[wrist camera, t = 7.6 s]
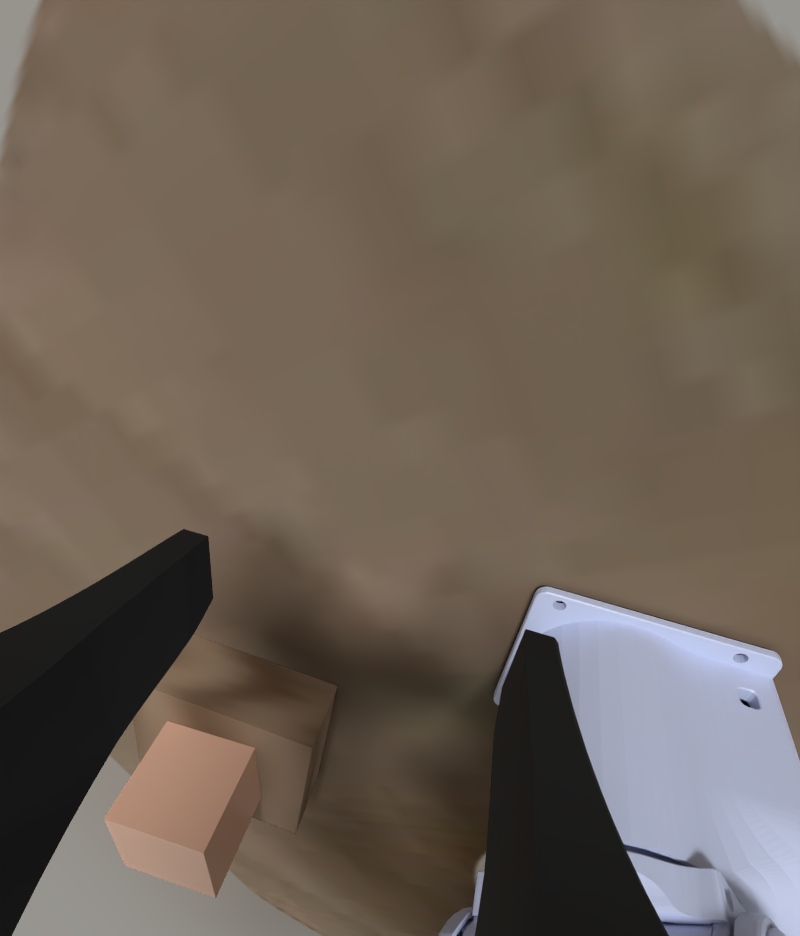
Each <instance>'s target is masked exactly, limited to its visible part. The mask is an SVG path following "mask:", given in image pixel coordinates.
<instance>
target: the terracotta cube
mask: <svg viewBox="0 0 800 936" xmlns="http://www.w3.org/2000/svg"><path fill="white" fill-rule="evenodd" d="M260 798H261V791H260V783H259V775H258V767H257V759H256V751H255V748H254V747H251V746H247V745H244V744H241V743H237V742H234V741H231V740H228V739H224V738H221V737H218V736H215V735H211V734H208V733H205V732H201V731H198V730H195V729H192V728H188V727H185V726H182V725H179V724H175V723H172V722H169V721H167V722H166V724H165V725H164V727H163V728H162V730H161V731H160V733H159V734H158V736H157V738H156V739H155V741H154V742H153V744H152V745H151V747H150V748H149V750H148V751H147V753H146V754H145V756H144V758H143V759H142V761H141V762H140V764H139V765H138V767H137V768H136V770H135V771H134V773H133V774H132V776H131V778H130V779H129V781H128V782H127V784H126V785H125V787H124V788H123V790H122V792H121V793H120V795H119V796H118V798H117V799H116V801H115V802H114V804H113V805H112V807H111V808H110V810H109V811H108V813H107V814H106V816H105V818H104V820H105V823H106V825H107V827H108V829H109V831H110V834H111V836H112V838H113V840H114V842H115V844H116V846H117V849H118V851H119V853H120V855H121V858H122V859H123V862H124V864H125V866H127V867H130V868H133V869H135V870H139V871H141V872H144V873H147V874H149V875H153V876H155V877H158V878H161V879H163V880H166V881H169V882H172V883H174V884H177V885H180V886H183V887H186V888H188V889H191V890H194V891H197V892H200V893H203V894H205V895H208V896H211V897H214V898H216V896H217V894H218V892H219V890H220V888H221V885H222V883H223V881H224V879H225V876H226V874H227V872H228V870H229V868H230V865H231V863H232V861H233V859H234V856H235V854H236V852H237V850H238V847H239V845H240V843H241V841H242V839H243V836H244V834H245V832H246V830H247V827H248V825H249V823H250V821H251V818H252V816H253V814H254V812H255V809H256V807H257V805H258V803H259V801H260Z"/></svg>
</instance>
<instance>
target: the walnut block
mask: <svg viewBox="0 0 800 936" xmlns="http://www.w3.org/2000/svg"><path fill="white" fill-rule="evenodd" d="M336 691H337V685H334V684H331V683H328V682H325V681H323V680H320V679H317V678H314V677H311V676H309V675H306V674H303V673H300V672H297V671H295V670H292V669H289V668H286V667H283V666H281V665H278V664H275V663H272V662H269V661H266V660H264V659H261V658H258V657H255V656H252V655H250V654H247V653H244V652H241V651H238V650H236V649H233V648H230V647H227V646H224V645H222V644H219V643H216V642H213V641H210V640H207V639H205V638H202V637H199V636H196V635H193V636H192V638H191V639H190V641H189V642H188V643H187V645H186V646H185V648H184V649H183V650H182V652H181V653H180V655H179V656H178V657H177V659H176V660H175V662H174V663H173V664H172V666H171V667H170V669H169V670H168V671H167V673H166V674H165V675H164V677H163V678H162V680H161V681H160V682H159V684H158V685H157V686H156V688H155V689H154V691H153V692H152V693H151V695H150V696H149V697H148V699H147V700H146V702H145V703H144V704H143V706H142V707H141V708H140V710H139V711H138V713H137V714H136V715H135V717H134V718H133V722H134V728H135V735H136V741H137V748H138V754H139V760H140V762H141V761H142V759H143V758H144V756H145V754H146V753H147V751H148V750H149V748H150V747H151V745H152V744H153V742H154V741H155V739H156V738H157V736H158V734H159V733H160V731H161V730H162V728H163V727H164V725H165V724H166V722H167V721H169V722H172V723H175V724H179V725H182V726H185V727H188V728H192V729H195V730H198V731H201V732H205V733H208V734H211V735H215V736H218V737H221V738H224V739H228V740H231V741H234V742H237V743H241V744H244V745H247V746H251V747H254V748H255V751H256V759H257V767H258V775H259V783H260V791H261V798H260V801H259V803H258V805H257V807H256V809H255V812H254V814H253V816H252V817H253V818H256V819H259V820H261V821H264V822H266V823H269V824H271V825H274V826H277V827H279V828H282V829H284V830H287V831H289V832H292V833H295V834H296V831H297V829H298V826H299V824H300V821H301V818H302V816H303V813H304V810H305V808H306V805H307V803H308V800H309V797H310V795H311V792H312V789H313V787H314V784H315V781H316V779H317V776H318V772H319V768H320V763H321V759H322V754H323V750H324V745H325V741H326V736H327V732H328V727H329V723H330V718H331V713H332V709H333V704H334V700H335V695H336Z"/></svg>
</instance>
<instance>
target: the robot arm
mask: <svg viewBox="0 0 800 936" xmlns="http://www.w3.org/2000/svg"><path fill="white" fill-rule="evenodd" d="M212 599H213V591H212V578H211V565H210V553H209V540H208V536H205V535H202V534H198V533H195V532H192V531H188V530H185V529H183V530H181V531H180V532H178V533H176V534H175V535H173V536H171V537H170V538H168V539H166V540H165V541H163V542H162V543H160V544H158V545H157V546H155V547H153V548H152V549H150V550H149V551H147V552H146V553H144V554H142V555H141V556H139V557H137V558H136V559H134V560H133V561H131V562H129V563H128V564H126V565H125V566H123V567H121V568H120V569H118V570H116V571H115V572H113V573H111V574H110V575H108V576H106V577H105V578H103V579H101V580H100V581H98V582H96V583H95V584H93V585H91V586H89V587H88V588H86V589H84V590H82V591H81V592H79V593H77V594H75V595H73V596H72V597H70V598H68V599H66V600H64V601H62V602H61V603H59V604H57V605H55V606H53V607H51V608H50V609H48V610H46V611H44V612H42V613H40V614H38V615H36V616H34V617H32V618H30V619H28V620H26V621H24V622H22V623H20V624H18V625H16V626H14V627H12V628H10V629H8V630H5V631H3V632H1V633H0V936H12V934H13V932H14V930H15V928H16V926H17V923H18V922H19V920H20V918H21V916H22V914H23V912H24V910H25V908H26V906H27V904H28V902H29V900H30V897H31V896H32V894H33V892H34V890H35V888H36V886H37V884H38V882H39V880H40V878H41V876H42V874H43V872H44V870H45V868H46V866H47V865H48V863H49V861H50V859H51V857H52V855H53V853H54V852H55V850H56V848H57V846H58V844H59V842H60V840H61V839H62V837H63V835H64V833H65V831H66V829H67V827H68V826H69V824H70V822H71V820H72V819H73V817H74V815H75V813H76V812H77V810H78V808H79V806H80V804H81V803H82V801H83V799H84V797H85V796H86V794H87V792H88V790H89V789H90V787H91V785H92V783H93V781H94V780H95V778H96V777H97V775H98V773H99V771H100V770H101V768H102V766H103V765H104V763H105V761H106V760H107V758H108V756H109V755H110V753H111V751H112V750H113V748H114V746H115V745H116V743H117V741H118V740H119V738H120V737H121V736H122V734H123V733H124V731H125V730H126V728H127V727H128V725H129V724H130V722H131V721H132V719H133V718H134V717H135V715H136V714H137V713H138V711H139V710H140V708H141V707H142V706H143V704H144V703H145V702H146V700H147V699H148V697H149V696H150V695H151V693H152V692H153V691H154V689H155V688H156V686H157V685H158V684H159V682H160V681H161V680H162V678H163V677H164V675H165V674H166V673H167V671H168V670H169V669H170V667H171V666H172V664H173V663H174V662H175V660H176V659H177V657H178V656H179V655H180V653H181V652H182V650H183V649H184V648H185V646H186V645H187V643H188V642H189V641H190V639H191V638H192V636H193V634H194V632H195V631H196V629H197V627H198V625H199V624H200V622H201V620H202V618H203V616H204V614H205V612H206V611H207V609H208V607H209V605H210V603H211V601H212ZM555 601H562V602H564V603H557V602H555ZM736 654H741V655H736ZM782 666H783V665H782V661H781V658H780V656H779V655H778V654H777V653H776V652H773V651H771V650H767V649H764V648H760V647H757V646H753V645H750V644H746V643H743V642H740V641H736V640H733V639H729V638H726V637H722V636H719V635H715V634H712V633H708V632H705V631H701V630H698V629H694V628H691V627H687V626H684V625H680V624H677V623H674V622H670V621H667V620H663V619H660V618H656V617H653V616H649V615H646V614H642V613H639V612H635V611H632V610H628V609H625V608H621V607H618V606H615V605H611V604H608V603H604V602H601V601H597V600H594V599H590V598H587V597H583V596H580V595H576V594H573V593H569V592H566V591H562V590H559V589H555V588H552V587H541V588H539V589H537V591H536V592H535V594H534V596H533V599H532V601H531V604H530V606H529V609H528V611H527V614H526V616H525V618H524V621H523V623H522V626H521V628H520V631H519V633H518V635H517V638H516V640H515V643H514V645H513V648H512V650H511V652H510V655H509V657H508V660H507V662H506V665H505V667H504V670H503V672H502V674H501V677H500V679H499V682H498V684H497V687H496V689H495V691H494V698H493V700H494V702H495V703H496V704H497V705H498V706H499V707H498V713H497V719H496V725H495V731H494V742H493V757H492V772H491V788H490V804H489V821H488V837H487V851H486V861H485V871H479V872H478V873H477V880H476V887H475V895H474V903H473V907H469V908H464V909H462V910H460V911H458V912H456V913H455V914H454V915H453V916H452V917H451V918H450V919H449V920H448V921H447V922H446V923H445V925H444V926H443V928H442V930H441V931H440V933H439V934H438V936H800V760H799V757H798V754H797V751H796V748H795V745H794V742H793V739H792V736H791V733H790V730H789V727H788V724H787V721H786V718H785V715H784V712H783V709H782V706H781V703H780V700H779V697H778V694H777V691H776V688H775V685H774V682H773V678H774V677H775V675H776V674H777V673H778V672H779V671H780V670H781V668H782Z"/></svg>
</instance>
